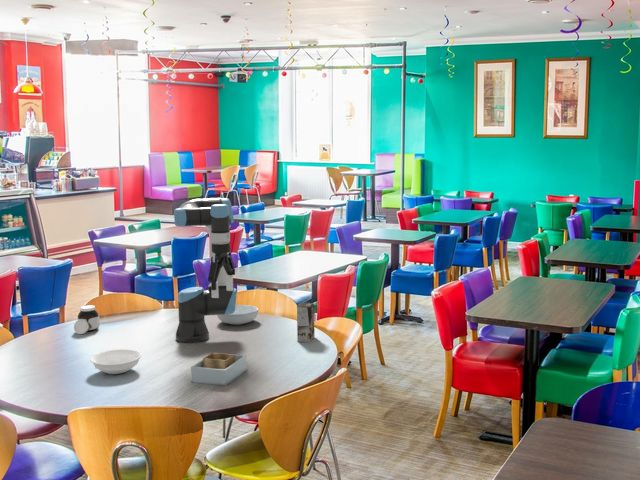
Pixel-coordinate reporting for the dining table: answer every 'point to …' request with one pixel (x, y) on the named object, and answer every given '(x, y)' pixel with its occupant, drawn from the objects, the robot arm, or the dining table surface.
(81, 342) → the dining table surface
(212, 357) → the wooden crate
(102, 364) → the bowl
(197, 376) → the plastic tote
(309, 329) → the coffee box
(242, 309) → the serving bowl
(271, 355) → the dining table surface
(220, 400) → the dining table surface
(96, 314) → the spread jar
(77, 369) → the dining table surface
